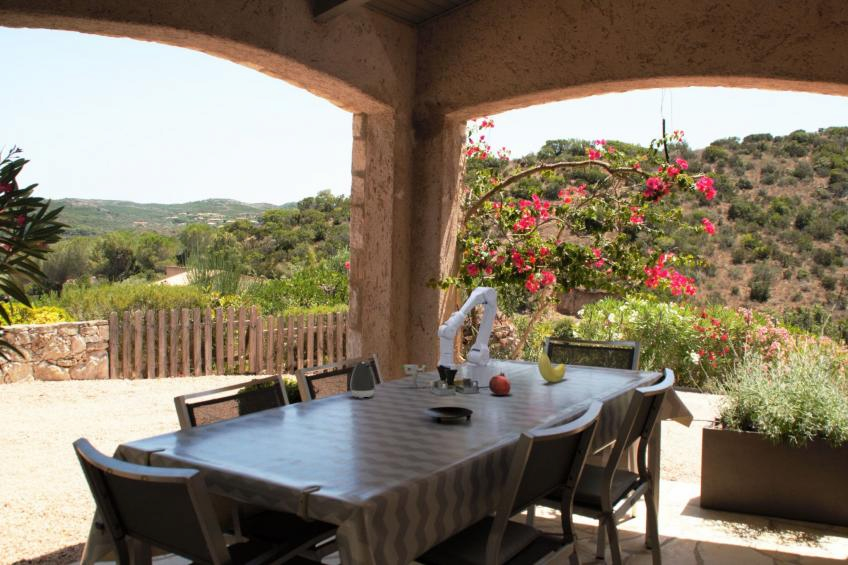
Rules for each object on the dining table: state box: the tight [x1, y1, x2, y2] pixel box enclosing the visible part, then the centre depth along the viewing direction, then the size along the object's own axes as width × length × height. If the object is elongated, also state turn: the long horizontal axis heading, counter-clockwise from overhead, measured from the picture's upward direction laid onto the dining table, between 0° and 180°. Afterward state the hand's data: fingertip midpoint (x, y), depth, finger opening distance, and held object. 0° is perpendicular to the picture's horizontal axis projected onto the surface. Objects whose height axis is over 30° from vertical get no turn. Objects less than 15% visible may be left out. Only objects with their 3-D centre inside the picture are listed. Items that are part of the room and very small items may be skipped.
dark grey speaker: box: [349, 359, 376, 399], centre depth 292 cm, size 10×10×15 cm
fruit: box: [488, 371, 511, 396], centre depth 296 cm, size 9×10×10 cm
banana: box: [537, 340, 567, 383], centre depth 325 cm, size 23×6×20 cm, turn 143°
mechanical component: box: [402, 364, 427, 389], centre depth 313 cm, size 3×10×10 cm, turn 89°
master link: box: [430, 377, 463, 389], centre depth 310 cm, size 14×3×4 cm, turn 111°
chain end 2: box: [455, 377, 480, 395], centre depth 303 cm, size 7×10×5 cm
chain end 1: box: [430, 379, 456, 397], centre depth 300 cm, size 7×10×5 cm
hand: (446, 383), depth 310 cm, fingers open, 7 cm apart
